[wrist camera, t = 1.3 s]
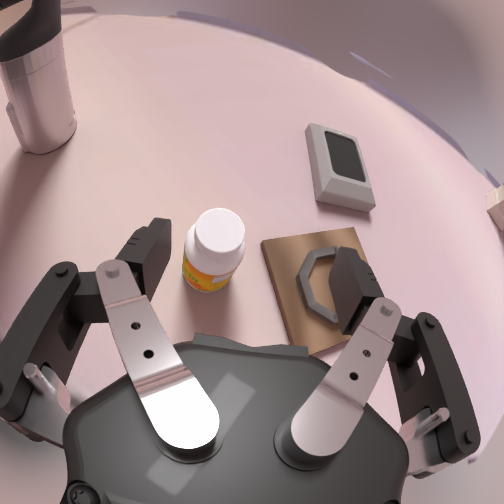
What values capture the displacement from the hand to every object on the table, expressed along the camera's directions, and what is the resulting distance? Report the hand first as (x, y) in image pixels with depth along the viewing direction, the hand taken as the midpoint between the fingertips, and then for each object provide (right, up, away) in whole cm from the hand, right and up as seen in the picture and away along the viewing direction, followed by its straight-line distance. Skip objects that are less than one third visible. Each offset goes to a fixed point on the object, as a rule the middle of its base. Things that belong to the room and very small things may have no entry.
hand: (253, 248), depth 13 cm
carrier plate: (+9, -4, +20) cm, 23 cm away
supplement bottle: (-5, -2, +17) cm, 18 cm away
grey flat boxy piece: (+13, +13, +30) cm, 35 cm away
